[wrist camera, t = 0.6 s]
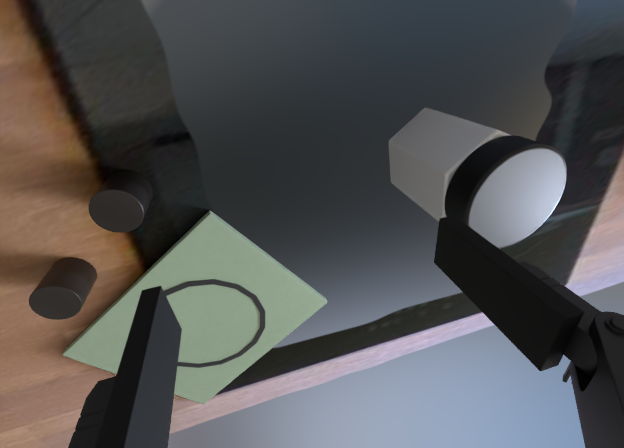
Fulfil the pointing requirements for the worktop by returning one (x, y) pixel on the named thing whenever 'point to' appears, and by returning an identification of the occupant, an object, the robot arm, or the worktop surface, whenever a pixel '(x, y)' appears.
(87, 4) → the worktop surface
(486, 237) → the jar
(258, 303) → the board
